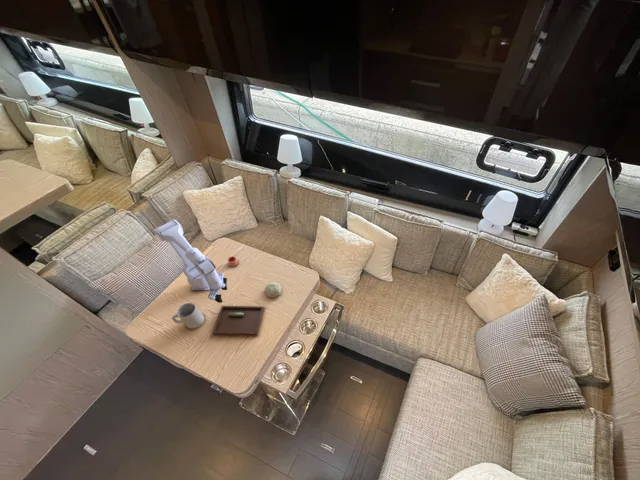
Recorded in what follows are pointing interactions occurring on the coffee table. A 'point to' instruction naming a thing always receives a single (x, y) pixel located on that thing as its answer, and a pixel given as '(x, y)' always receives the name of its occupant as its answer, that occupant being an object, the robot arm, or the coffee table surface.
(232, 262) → the cup
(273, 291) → the sea urchin shell
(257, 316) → the tray
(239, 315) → the muddler
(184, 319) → the mug
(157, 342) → the coffee table surface
